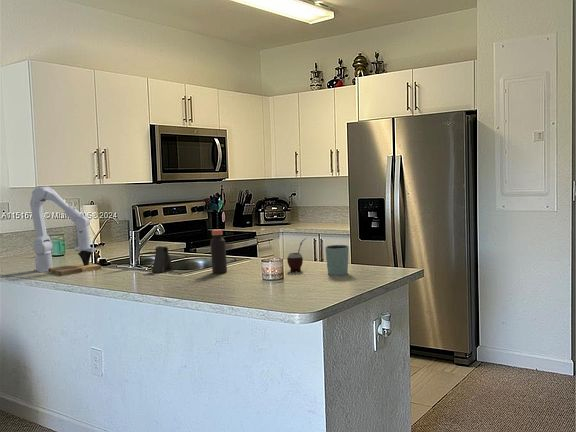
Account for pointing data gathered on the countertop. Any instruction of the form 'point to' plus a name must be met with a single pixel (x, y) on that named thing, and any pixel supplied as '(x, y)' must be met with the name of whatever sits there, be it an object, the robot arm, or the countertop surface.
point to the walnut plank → (64, 270)
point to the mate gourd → (295, 260)
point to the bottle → (218, 252)
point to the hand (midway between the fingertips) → (86, 265)
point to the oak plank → (87, 267)
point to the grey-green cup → (337, 259)
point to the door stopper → (162, 260)
